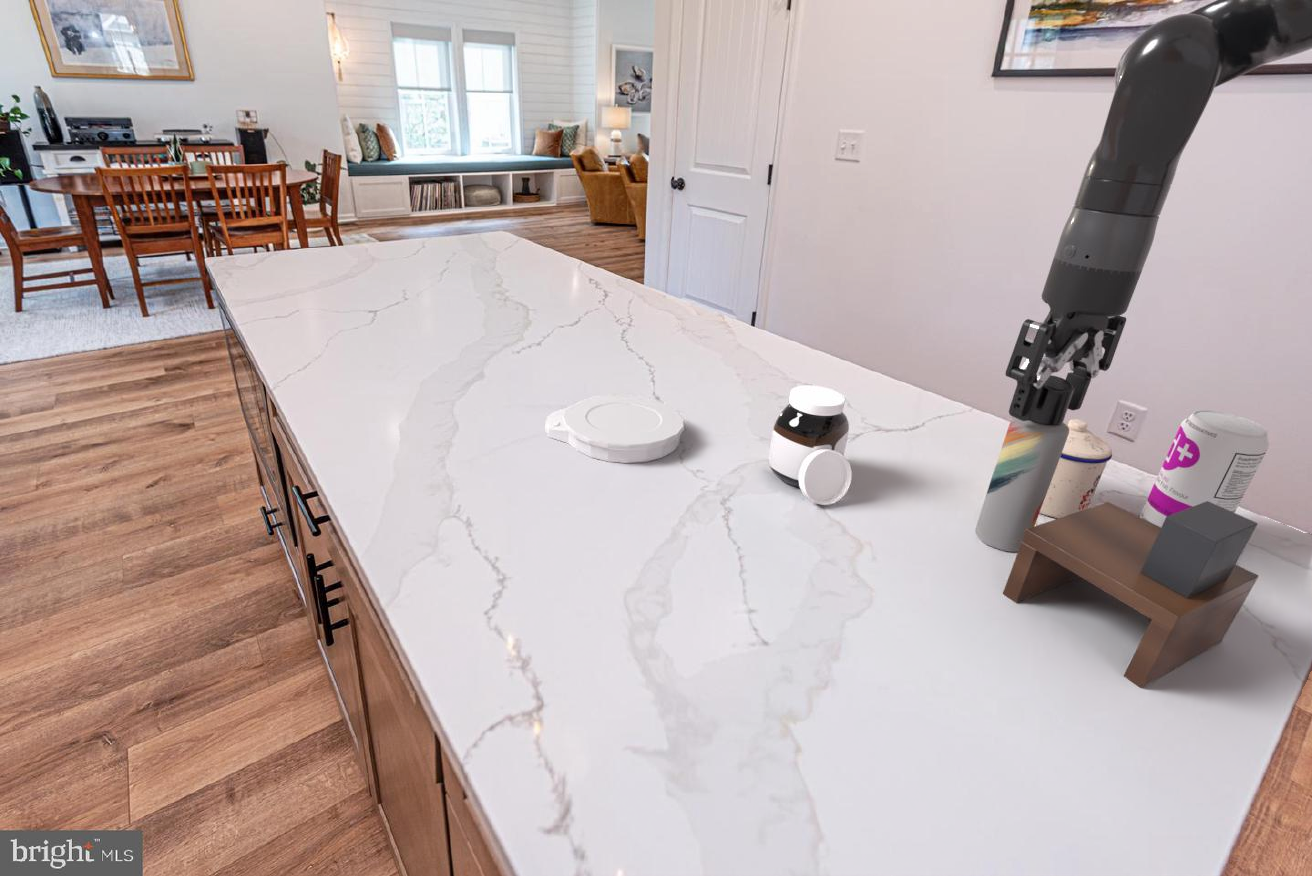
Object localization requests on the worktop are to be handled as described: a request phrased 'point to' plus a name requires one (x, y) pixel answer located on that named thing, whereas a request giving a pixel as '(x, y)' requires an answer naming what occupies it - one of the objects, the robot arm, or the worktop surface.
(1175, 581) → the charcoal block
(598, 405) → the lid
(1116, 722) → the worktop surface
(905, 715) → the worktop surface
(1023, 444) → the lotion bottle
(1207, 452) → the supplement can
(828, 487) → the spread jar
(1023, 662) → the worktop surface
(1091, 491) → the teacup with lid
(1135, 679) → the riser
